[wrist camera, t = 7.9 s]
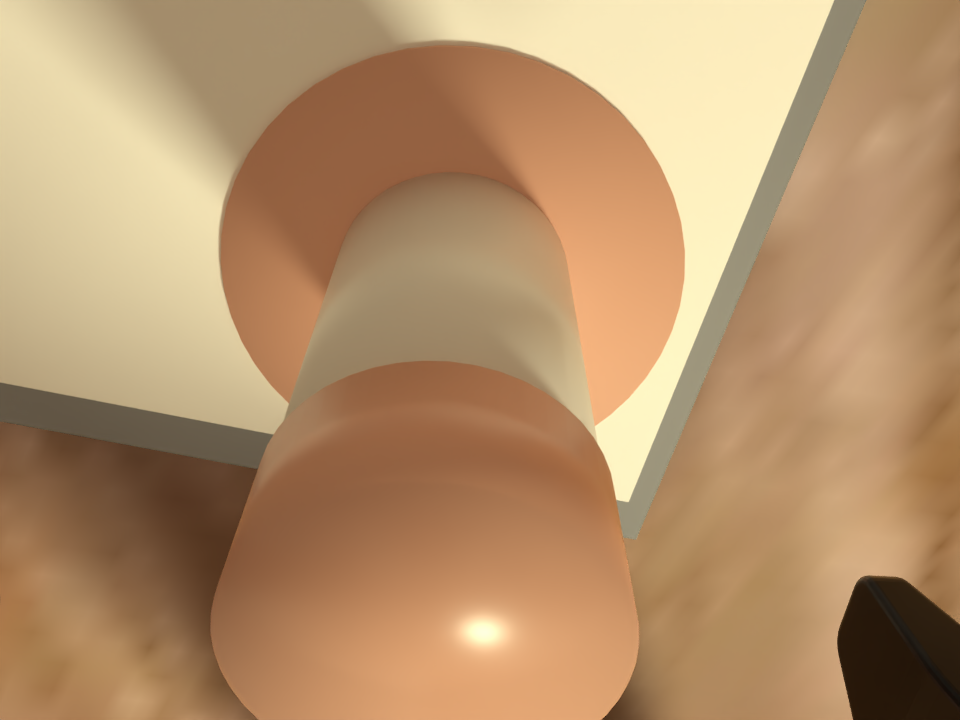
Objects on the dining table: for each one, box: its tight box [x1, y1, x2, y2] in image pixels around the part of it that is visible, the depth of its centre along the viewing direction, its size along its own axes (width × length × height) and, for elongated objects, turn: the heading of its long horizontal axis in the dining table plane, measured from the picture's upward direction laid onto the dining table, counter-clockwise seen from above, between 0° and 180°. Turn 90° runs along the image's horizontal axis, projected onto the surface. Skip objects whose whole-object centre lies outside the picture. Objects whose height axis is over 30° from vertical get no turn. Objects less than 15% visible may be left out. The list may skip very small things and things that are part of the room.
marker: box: [210, 172, 639, 720], centre depth 12 cm, size 4×4×8 cm
